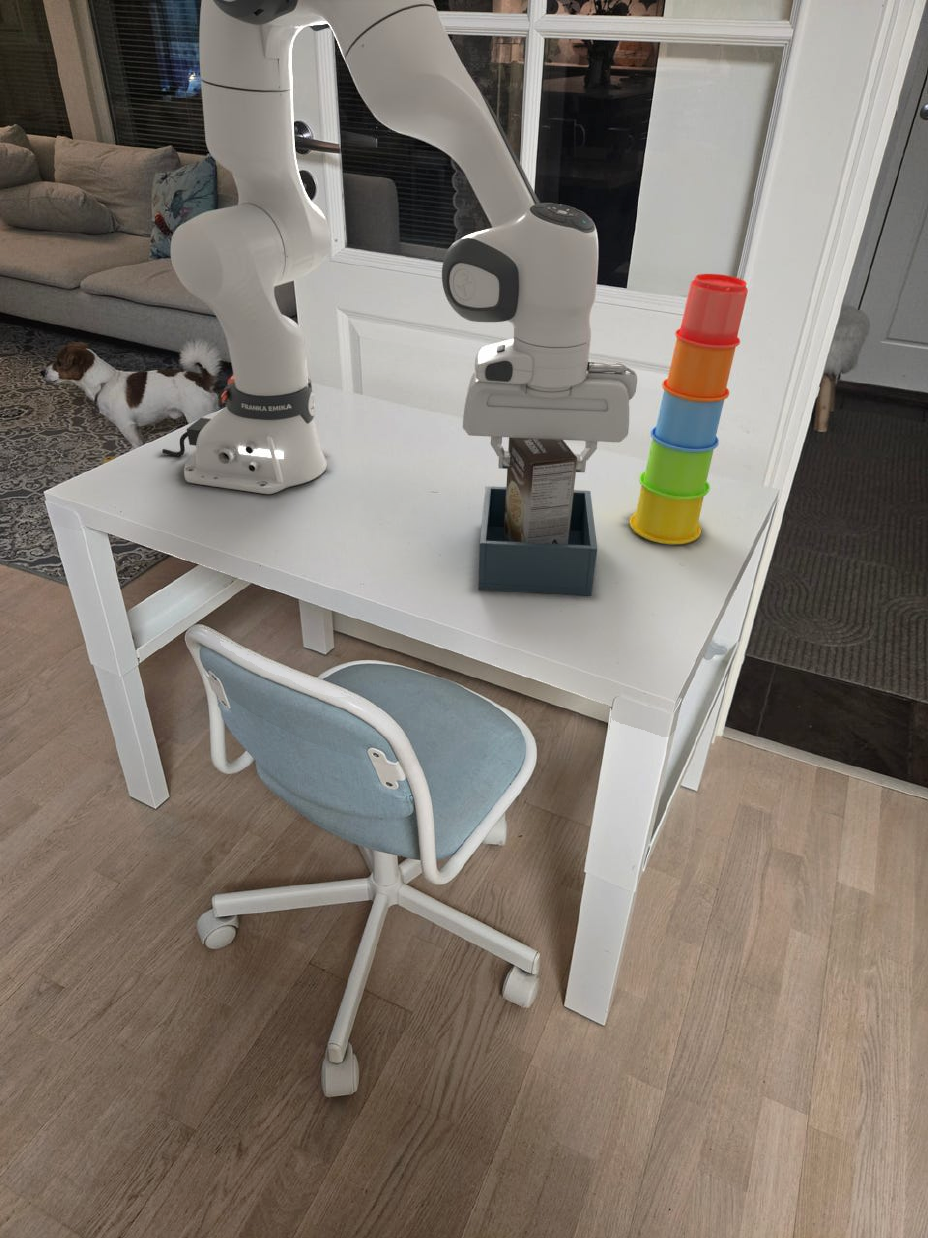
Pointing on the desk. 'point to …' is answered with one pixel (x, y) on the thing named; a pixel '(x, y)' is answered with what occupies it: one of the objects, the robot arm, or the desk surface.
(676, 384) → the stacking cups
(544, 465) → the coffee box
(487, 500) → the open square box
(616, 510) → the desk surface
